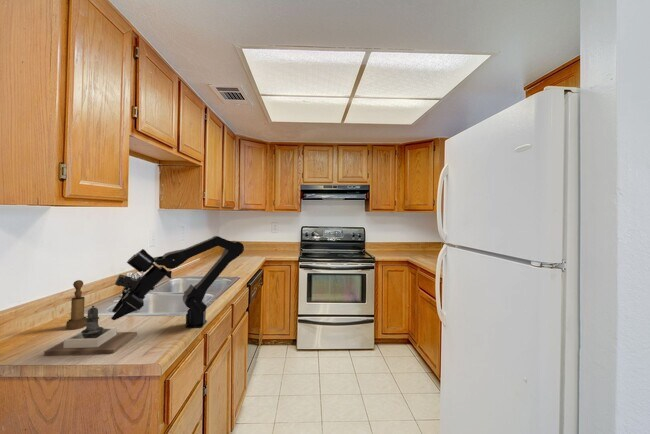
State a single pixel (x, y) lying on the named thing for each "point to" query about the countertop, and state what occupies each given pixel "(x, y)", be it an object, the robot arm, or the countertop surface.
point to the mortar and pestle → (77, 308)
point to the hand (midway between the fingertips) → (112, 315)
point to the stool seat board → (92, 343)
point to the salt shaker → (92, 324)
